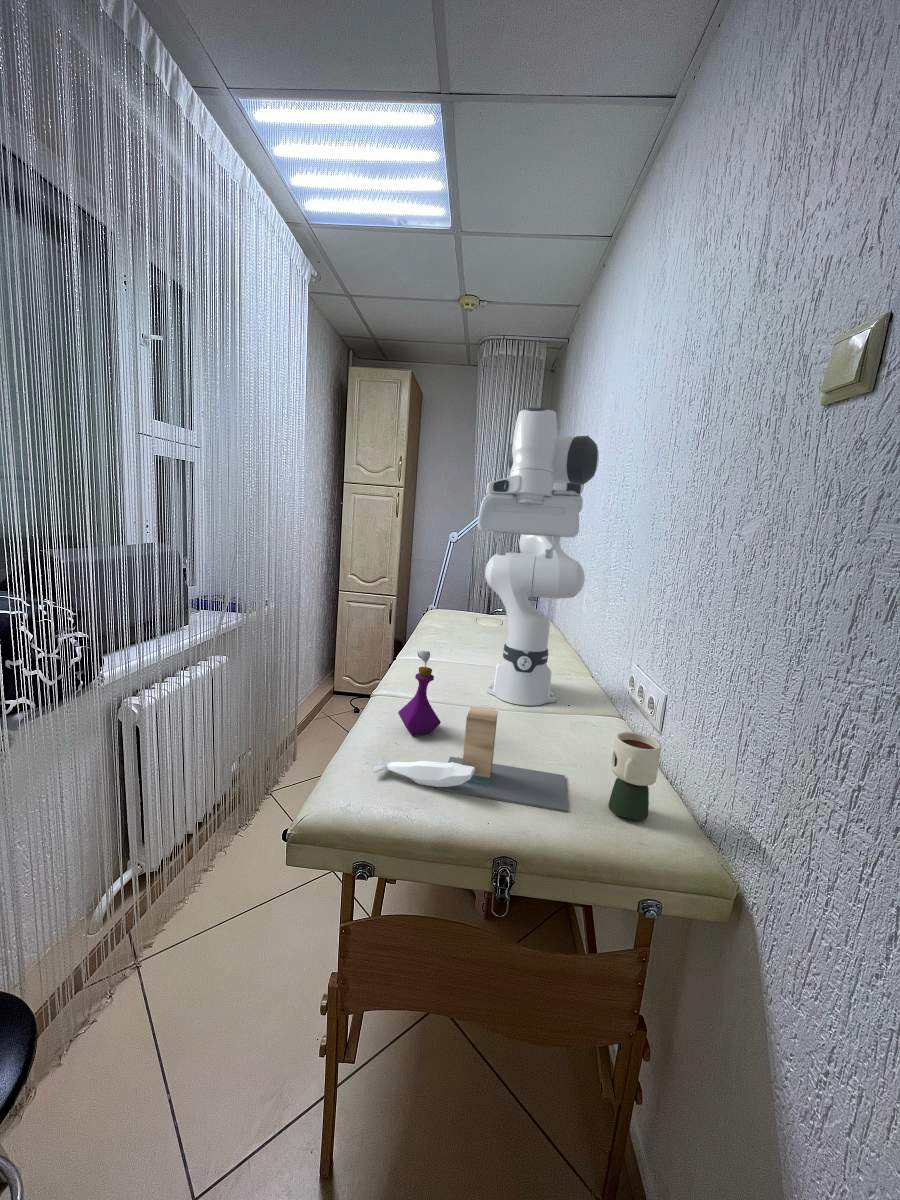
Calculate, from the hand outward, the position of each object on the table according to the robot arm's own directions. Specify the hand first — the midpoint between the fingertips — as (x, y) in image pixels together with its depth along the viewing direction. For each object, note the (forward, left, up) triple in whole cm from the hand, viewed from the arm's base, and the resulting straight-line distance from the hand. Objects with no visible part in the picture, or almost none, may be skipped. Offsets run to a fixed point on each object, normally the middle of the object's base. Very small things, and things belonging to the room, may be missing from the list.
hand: (525, 557), depth 101 cm
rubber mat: (+18, +1, -40) cm, 44 cm away
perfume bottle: (+2, -19, -40) cm, 44 cm away
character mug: (+21, +22, -40) cm, 50 cm away
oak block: (+18, -4, -39) cm, 43 cm away
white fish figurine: (+22, -13, -40) cm, 48 cm away
